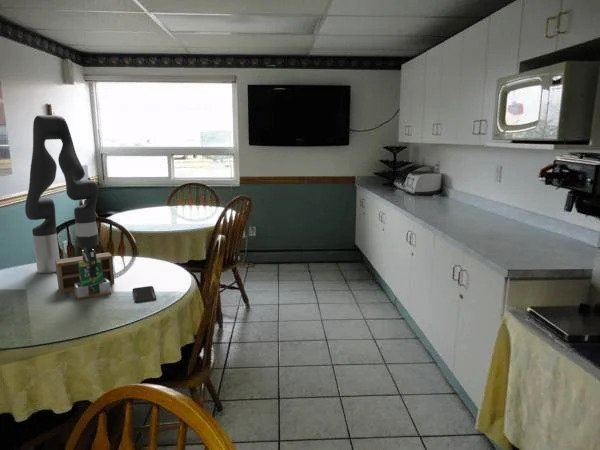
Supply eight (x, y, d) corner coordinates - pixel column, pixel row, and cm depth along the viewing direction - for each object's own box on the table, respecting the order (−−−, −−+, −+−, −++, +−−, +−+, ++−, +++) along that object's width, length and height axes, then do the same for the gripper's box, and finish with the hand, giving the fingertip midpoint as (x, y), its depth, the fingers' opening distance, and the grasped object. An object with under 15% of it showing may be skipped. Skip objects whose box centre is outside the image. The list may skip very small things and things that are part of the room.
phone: (152, 285, 176) (156, 298, 163) (153, 288, 176) (156, 301, 163) (132, 288, 173) (134, 301, 160) (132, 291, 173) (134, 304, 160)
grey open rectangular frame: (74, 293, 167) (73, 283, 167) (106, 287, 174) (106, 277, 173) (77, 298, 162) (76, 288, 162) (110, 291, 169) (109, 282, 168)
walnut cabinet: (58, 288, 175) (55, 260, 172) (111, 279, 186) (108, 252, 184) (65, 302, 160) (62, 271, 157) (122, 291, 171) (119, 262, 169)
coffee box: (82, 295, 165) (78, 263, 162) (80, 293, 167) (77, 261, 164) (104, 291, 170) (101, 259, 167) (102, 289, 172) (99, 257, 169)
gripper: (72, 231, 167) (77, 271, 170) (79, 238, 156) (83, 281, 159) (93, 228, 171) (97, 268, 175) (101, 235, 160) (105, 277, 163)
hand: (91, 274), depth 167 cm, fingers open, 8 cm apart
